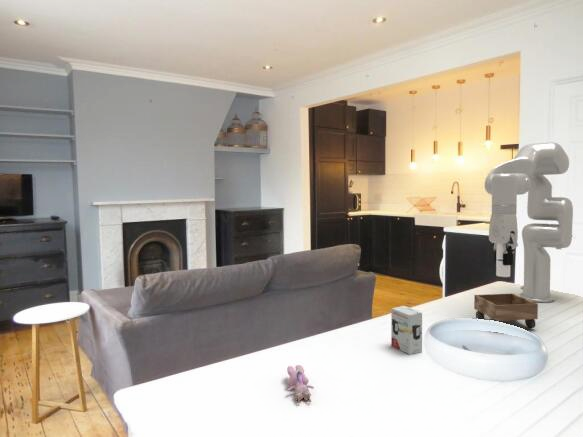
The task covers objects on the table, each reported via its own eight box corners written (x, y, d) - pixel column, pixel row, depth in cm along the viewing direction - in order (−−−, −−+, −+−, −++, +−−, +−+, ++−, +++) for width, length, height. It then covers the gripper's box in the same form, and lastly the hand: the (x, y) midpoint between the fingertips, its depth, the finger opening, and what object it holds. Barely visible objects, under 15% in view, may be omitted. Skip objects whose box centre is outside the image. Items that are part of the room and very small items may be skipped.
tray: (474, 319, 150) (474, 295, 149) (511, 317, 151) (512, 293, 150) (496, 332, 136) (496, 305, 136) (537, 330, 137) (537, 303, 137)
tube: (507, 274, 145) (507, 231, 144) (512, 277, 141) (512, 232, 140) (494, 274, 146) (494, 231, 145) (499, 277, 141) (499, 232, 140)
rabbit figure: (318, 408, 94) (305, 370, 109) (318, 385, 93) (305, 349, 108) (290, 411, 93) (281, 372, 108) (290, 388, 92) (281, 351, 107)
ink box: (390, 345, 128) (390, 307, 127) (403, 342, 130) (403, 305, 129) (409, 355, 120) (409, 314, 119) (422, 352, 122) (422, 312, 121)
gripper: (480, 209, 150) (479, 260, 151) (507, 211, 133) (507, 268, 134) (500, 208, 151) (499, 259, 152) (530, 211, 134) (529, 267, 135)
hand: (503, 263), depth 143 cm, fingers closed on tube, 4 cm apart
